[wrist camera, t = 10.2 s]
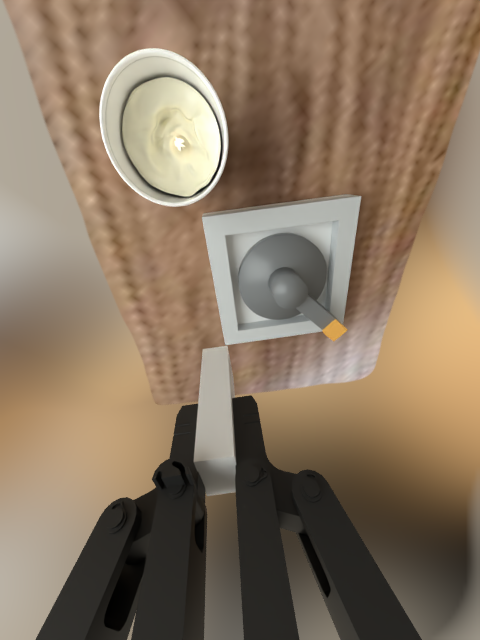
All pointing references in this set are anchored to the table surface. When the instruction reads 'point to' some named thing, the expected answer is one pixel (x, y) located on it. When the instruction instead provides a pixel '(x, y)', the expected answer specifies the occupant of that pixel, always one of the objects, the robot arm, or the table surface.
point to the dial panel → (261, 221)
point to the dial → (287, 281)
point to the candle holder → (164, 127)
